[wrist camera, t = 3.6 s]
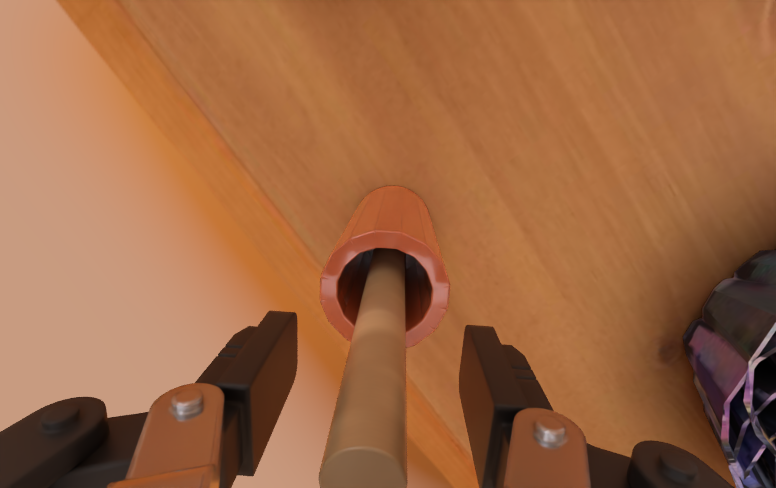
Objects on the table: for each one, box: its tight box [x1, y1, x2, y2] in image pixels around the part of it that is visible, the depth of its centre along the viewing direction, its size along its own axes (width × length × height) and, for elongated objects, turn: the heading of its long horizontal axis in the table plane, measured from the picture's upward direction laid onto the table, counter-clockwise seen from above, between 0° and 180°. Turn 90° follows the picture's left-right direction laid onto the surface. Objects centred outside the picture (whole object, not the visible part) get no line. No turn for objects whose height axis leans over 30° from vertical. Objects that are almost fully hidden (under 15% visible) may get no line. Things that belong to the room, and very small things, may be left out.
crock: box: [320, 186, 450, 348], centre depth 21 cm, size 5×5×12 cm
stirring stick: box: [319, 248, 407, 488], centre depth 17 cm, size 2×2×20 cm
